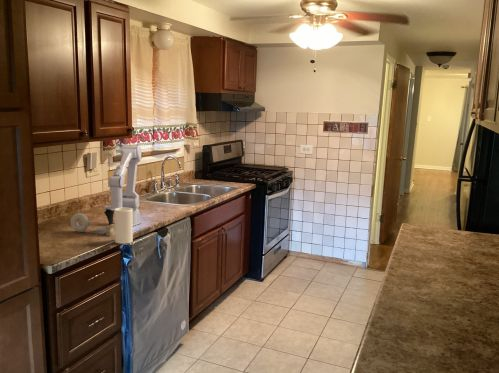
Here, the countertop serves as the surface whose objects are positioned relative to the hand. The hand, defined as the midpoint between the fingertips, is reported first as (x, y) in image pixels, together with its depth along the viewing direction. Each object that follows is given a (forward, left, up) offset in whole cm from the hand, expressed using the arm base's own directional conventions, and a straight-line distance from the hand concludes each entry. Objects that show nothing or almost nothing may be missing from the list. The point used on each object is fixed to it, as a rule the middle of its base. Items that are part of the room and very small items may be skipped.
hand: (116, 225), depth 232 cm
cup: (+11, +13, -4) cm, 18 cm away
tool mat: (-2, -8, -4) cm, 9 cm away
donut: (+8, -17, -4) cm, 19 cm away
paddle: (0, 0, -4) cm, 4 cm away
